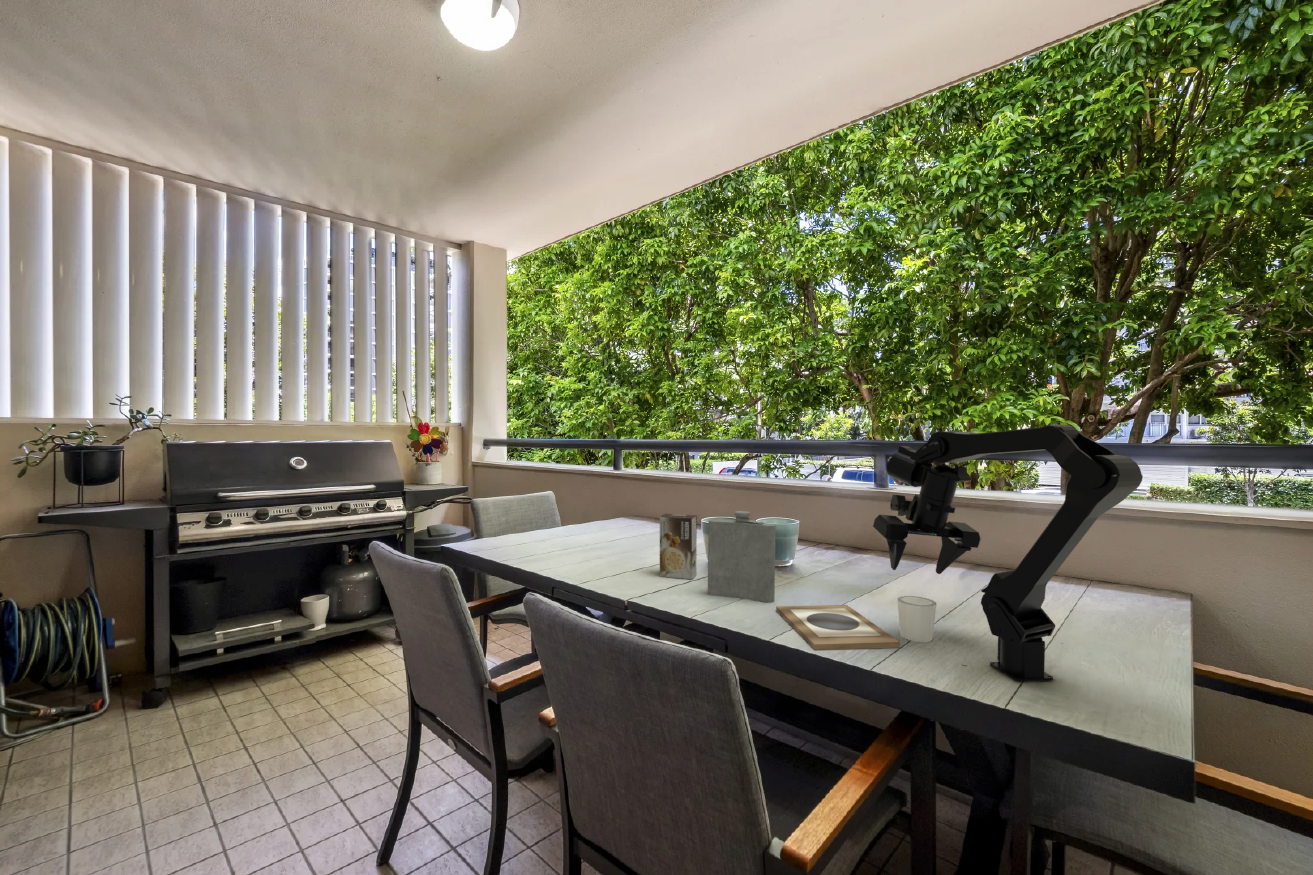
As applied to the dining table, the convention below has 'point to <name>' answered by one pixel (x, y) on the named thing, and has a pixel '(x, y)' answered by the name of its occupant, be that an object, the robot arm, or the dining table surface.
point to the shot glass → (916, 618)
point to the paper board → (835, 627)
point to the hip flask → (741, 558)
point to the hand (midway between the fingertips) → (915, 571)
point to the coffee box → (678, 546)
